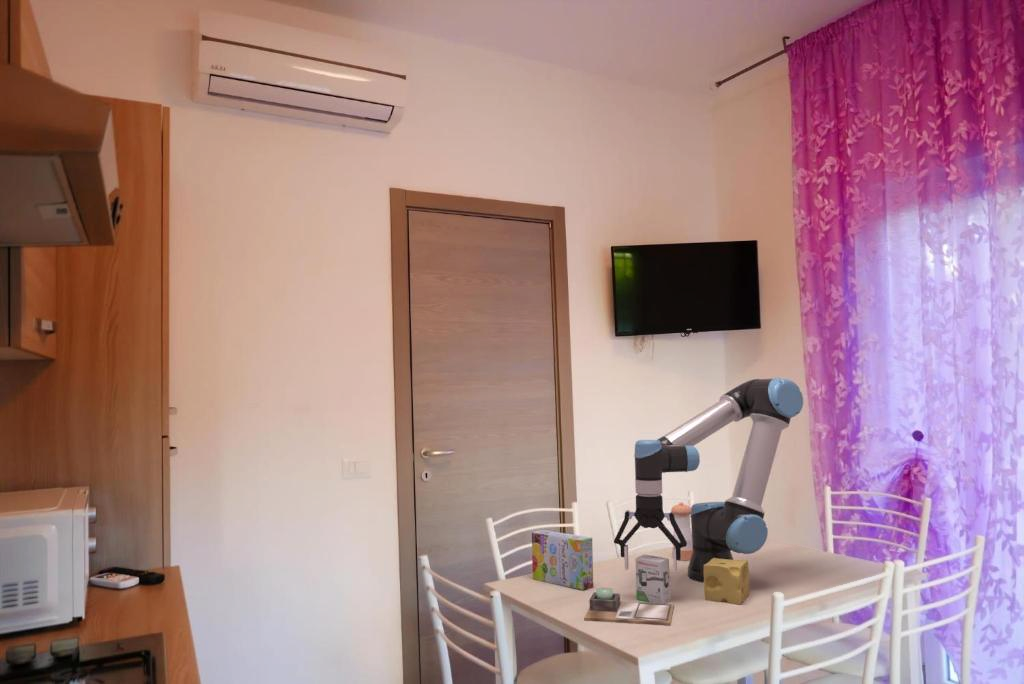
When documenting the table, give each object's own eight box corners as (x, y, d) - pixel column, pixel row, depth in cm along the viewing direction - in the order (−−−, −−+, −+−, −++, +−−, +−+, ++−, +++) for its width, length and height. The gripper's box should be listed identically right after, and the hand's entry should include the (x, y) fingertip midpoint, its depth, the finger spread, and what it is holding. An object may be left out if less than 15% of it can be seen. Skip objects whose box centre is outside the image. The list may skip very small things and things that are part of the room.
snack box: (595, 587, 218) (593, 536, 219) (583, 591, 214) (581, 540, 215) (543, 575, 233) (541, 528, 234) (531, 579, 229) (530, 531, 230)
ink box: (635, 599, 204) (633, 557, 205) (644, 595, 208) (642, 554, 209) (662, 604, 199) (661, 561, 199) (671, 600, 202) (669, 557, 203)
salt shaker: (672, 555, 255) (669, 501, 256) (693, 555, 254) (690, 501, 255) (673, 560, 248) (671, 504, 249) (695, 560, 247) (692, 504, 248)
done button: (614, 599, 198) (613, 588, 198) (611, 603, 194) (611, 592, 194) (598, 598, 199) (597, 587, 199) (595, 603, 195) (595, 591, 195)
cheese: (741, 605, 196) (739, 568, 197) (702, 600, 202) (700, 564, 203) (750, 595, 205) (749, 560, 206) (713, 590, 211) (711, 556, 212)
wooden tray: (673, 606, 197) (673, 593, 197) (670, 625, 182) (669, 611, 182) (594, 602, 203) (593, 589, 203) (584, 620, 188) (583, 606, 188)
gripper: (694, 493, 205) (696, 569, 204) (607, 491, 212) (608, 564, 211) (693, 497, 198) (695, 576, 197) (603, 495, 205) (604, 570, 204)
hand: (650, 570), depth 204 cm, fingers open, 13 cm apart
